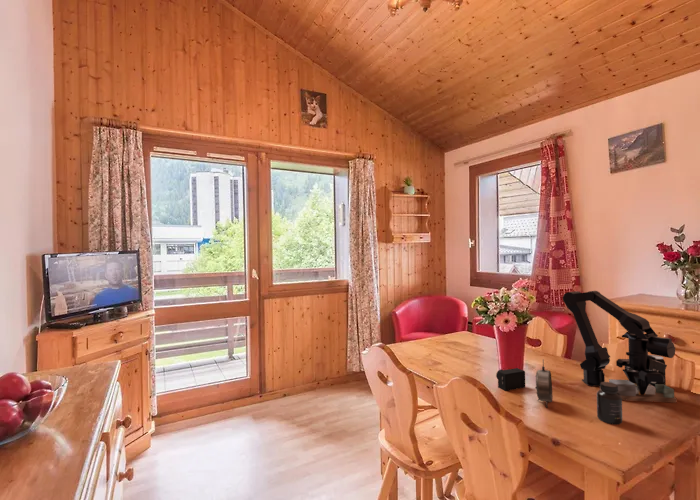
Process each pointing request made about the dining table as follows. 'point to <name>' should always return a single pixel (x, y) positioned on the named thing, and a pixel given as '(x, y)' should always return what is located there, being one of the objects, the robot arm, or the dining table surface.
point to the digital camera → (511, 379)
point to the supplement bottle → (609, 403)
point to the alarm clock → (544, 385)
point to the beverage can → (660, 359)
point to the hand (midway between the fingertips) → (639, 392)
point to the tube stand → (661, 394)
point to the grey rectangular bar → (649, 390)
